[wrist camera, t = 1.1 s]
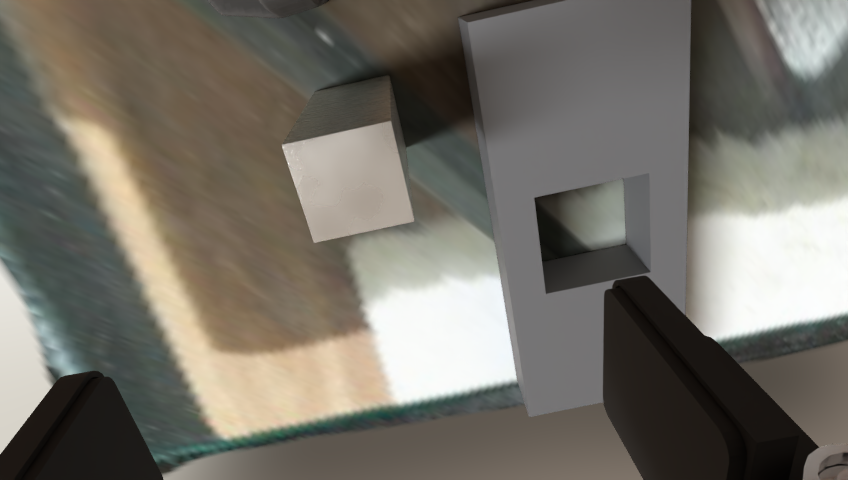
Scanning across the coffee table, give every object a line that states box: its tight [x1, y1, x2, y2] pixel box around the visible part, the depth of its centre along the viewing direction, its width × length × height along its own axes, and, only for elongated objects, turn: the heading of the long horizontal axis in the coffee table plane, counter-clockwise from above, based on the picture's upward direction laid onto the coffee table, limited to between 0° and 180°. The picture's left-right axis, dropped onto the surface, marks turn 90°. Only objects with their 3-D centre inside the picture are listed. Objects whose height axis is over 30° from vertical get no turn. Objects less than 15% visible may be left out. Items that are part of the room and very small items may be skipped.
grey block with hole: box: [458, 0, 691, 417], centre depth 31 cm, size 10×24×4 cm, turn 11°
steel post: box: [282, 75, 414, 243], centre depth 25 cm, size 4×4×10 cm
